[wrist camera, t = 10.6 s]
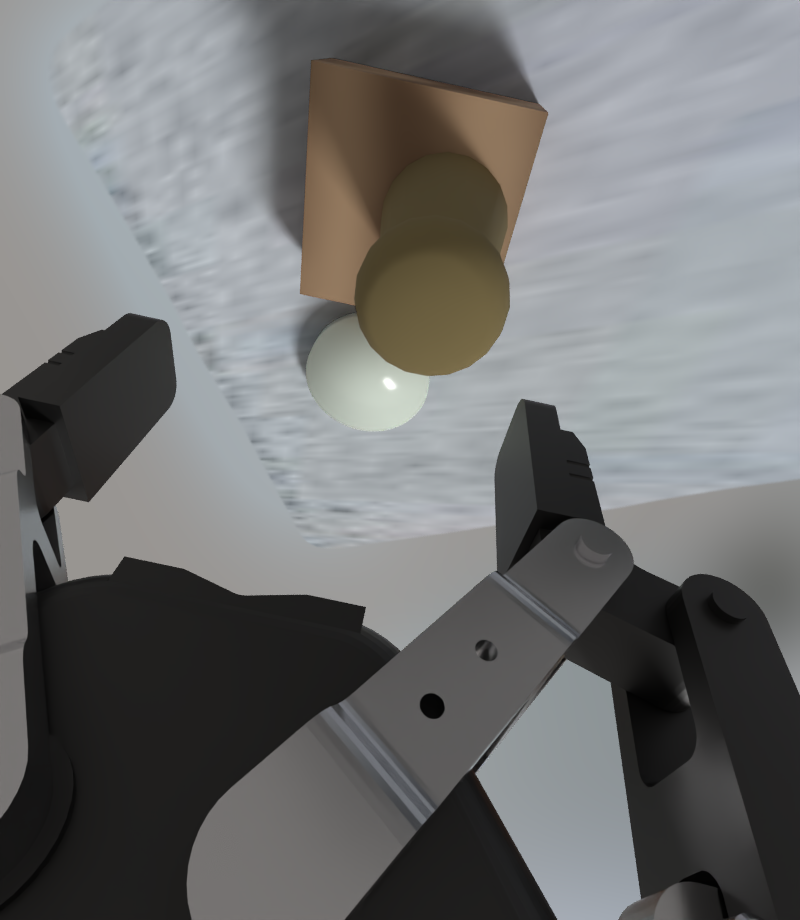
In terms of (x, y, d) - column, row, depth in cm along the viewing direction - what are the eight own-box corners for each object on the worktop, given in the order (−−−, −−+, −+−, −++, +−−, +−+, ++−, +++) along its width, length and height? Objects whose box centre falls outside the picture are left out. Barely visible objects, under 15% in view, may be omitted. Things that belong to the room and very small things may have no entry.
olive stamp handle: (365, 262, 26) (313, 369, 18) (404, 129, 22) (361, 183, 14) (476, 304, 27) (477, 425, 18) (531, 182, 23) (565, 264, 15)
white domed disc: (442, 325, 32) (441, 338, 31) (417, 426, 37) (415, 441, 36) (317, 297, 32) (310, 309, 31) (308, 403, 37) (302, 417, 36)
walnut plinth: (538, 103, 25) (548, 112, 21) (482, 303, 31) (483, 332, 28) (331, 58, 24) (311, 60, 21) (317, 268, 31) (299, 293, 28)
